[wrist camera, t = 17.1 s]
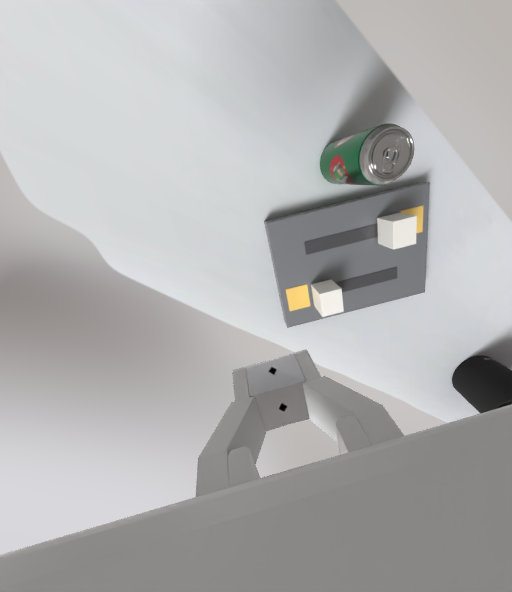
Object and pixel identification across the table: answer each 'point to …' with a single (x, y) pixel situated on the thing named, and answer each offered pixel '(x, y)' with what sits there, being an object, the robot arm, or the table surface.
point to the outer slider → (327, 298)
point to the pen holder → (484, 383)
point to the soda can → (368, 156)
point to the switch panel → (348, 253)
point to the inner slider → (397, 230)
